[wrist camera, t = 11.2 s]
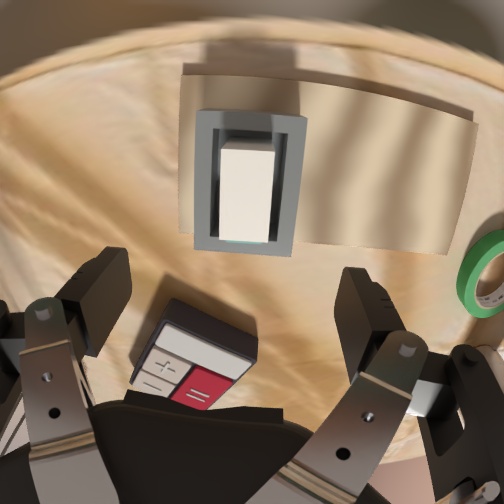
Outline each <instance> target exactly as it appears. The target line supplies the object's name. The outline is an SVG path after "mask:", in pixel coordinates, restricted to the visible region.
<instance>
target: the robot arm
mask: <svg viewBox="0 0 504 504" xmlns="http://www.w3.org/2000/svg"><path fill="white" fill-rule="evenodd" d="M131 293H132V280H131V273H130V265H129V258H128V252H127V250H126V248H120V247H109V246H107V247H106V248H105V249H104V250H103V251H102V252H101V253H100V254H99V255H98V256H97V257H96V258H93V259H91V260H89V261H88V262H86V263H84V264H83V265H82V266H81V267H80V268H79V269H78V270H77V273H75V274H74V275H73V276H72V277H71V279H69V280H68V281H67V283H66V284H65V285H64V286H63V287H62V288H61V289H60V291H59V292H58V293H57V294H56V295H55V296H54V297H45V298H41V299H38V300H36V301H34V302H32V303H31V304H30V305H29V306H28V307H27V308H26V310H25V312H18V313H10V312H9V309H8V307H7V304H6V302H5V301H3V300H0V434H1V432H2V430H3V428H4V426H5V423H6V421H7V419H8V417H9V415H10V413H11V411H12V409H13V407H14V405H15V403H16V401H17V399H18V398H19V396H20V394H21V392H22V395H23V403H24V410H25V417H26V422H27V429H28V434H29V439H30V442H28V443H27V444H25V445H23V446H21V447H19V448H17V449H15V450H14V451H12V452H10V453H8V454H6V455H4V456H2V457H0V504H391V503H390V502H389V501H387V499H385V498H384V497H383V496H382V495H381V494H380V493H379V492H377V491H376V490H375V489H374V488H373V487H372V486H371V485H370V484H369V483H368V480H369V479H370V477H371V476H372V474H373V473H374V471H375V469H376V467H377V466H378V464H379V463H380V461H381V459H382V457H383V456H384V454H385V452H386V450H387V448H388V447H389V445H390V443H391V441H392V439H393V437H394V435H395V433H396V431H397V429H398V427H399V425H400V423H401V421H402V419H403V417H404V415H405V414H409V415H414V416H417V419H418V423H419V427H420V431H421V435H422V439H423V443H424V448H425V452H426V456H427V461H428V465H429V470H430V475H431V480H432V485H433V490H434V496H435V502H436V503H435V504H504V361H503V359H502V358H501V356H500V354H499V353H498V351H493V349H492V348H491V347H490V346H486V345H485V346H479V347H476V348H474V347H472V346H469V345H465V344H461V345H457V346H455V347H454V348H453V349H452V351H451V353H450V355H449V356H448V355H443V354H439V353H434V352H430V351H428V346H427V344H426V343H425V341H424V340H423V339H422V338H421V337H419V336H418V335H416V334H414V333H412V332H409V331H407V330H406V328H405V326H404V324H403V322H402V320H401V318H400V316H399V314H398V312H397V310H396V309H395V306H394V304H393V302H392V301H391V298H390V297H389V295H388V293H387V291H386V290H385V289H384V288H383V287H382V286H381V285H380V284H378V283H377V282H372V281H371V279H370V277H369V275H368V273H367V271H366V269H365V268H355V267H345V268H344V269H343V272H342V276H341V280H340V284H339V288H338V292H337V296H336V300H335V306H334V318H335V322H336V326H337V330H338V334H339V338H340V342H341V346H342V351H343V355H344V359H345V363H346V367H347V372H348V376H349V381H350V385H351V386H350V388H349V389H348V391H347V392H346V393H345V395H344V396H343V397H342V399H341V400H340V401H339V403H338V404H337V405H336V407H335V408H334V409H333V411H332V412H331V413H330V414H329V416H328V417H327V418H326V419H325V421H324V422H323V423H322V424H321V426H320V427H319V428H318V429H317V431H316V432H315V433H313V432H312V431H310V430H309V429H307V428H305V427H303V426H301V425H299V424H296V423H293V422H290V421H287V420H283V408H262V407H248V406H241V407H232V408H223V409H212V410H199V409H196V408H193V407H190V406H187V405H185V404H182V403H179V402H177V401H174V400H172V399H169V398H167V397H164V396H160V395H154V394H148V393H143V392H138V391H133V390H127V392H126V395H125V397H124V400H114V401H108V402H103V403H100V404H97V405H96V402H95V399H94V396H93V393H92V390H91V387H90V384H89V381H88V378H87V375H86V371H85V368H84V365H83V362H82V359H83V357H84V355H87V356H91V357H96V358H97V356H98V354H99V352H100V351H101V349H102V347H103V345H104V343H105V341H106V340H107V338H108V336H109V334H110V332H111V331H112V329H113V327H114V325H115V324H116V322H117V320H118V318H119V317H120V315H121V313H122V312H123V310H124V308H125V306H126V305H127V303H128V301H129V300H130V297H131ZM458 410H459V412H460V415H461V417H462V419H463V422H464V424H465V428H464V430H463V427H462V424H461V421H460V418H459V415H458V412H457V411H458Z"/></svg>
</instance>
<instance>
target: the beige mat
mask: <svg viewBox="0 0 504 504" xmlns="http://www.w3.org/2000/svg"><path fill="white" fill-rule="evenodd" d="M206 108H216V109H240V110H256V111H269V112H280V113H290V114H299V115H302V116H304V117H306V118H308V122H307V132H306V141H305V150H304V159H303V168H302V176H301V185H300V193H299V201H298V209H297V216H296V224H295V231H294V239H293V242H304V243H316V244H328V245H340V246H351V247H363V248H374V249H385V250H396V251H407V252H417V253H428V254H438V255H447V254H448V251H449V248H450V245H451V241H452V238H453V235H454V232H455V228H456V225H457V222H458V218H459V215H460V211H461V207H462V204H463V200H464V196H465V192H466V188H467V183H468V179H469V174H470V170H471V165H472V160H473V155H474V150H475V144H476V138H477V132H478V125H479V124H477V123H475V122H472V121H469V120H466V119H464V118H461V117H458V116H455V115H452V114H449V113H446V112H443V111H439V110H436V109H433V108H429V107H426V106H423V105H419V104H415V103H412V102H408V101H404V100H400V99H396V98H392V97H388V96H384V95H379V94H375V93H370V92H365V91H360V90H355V89H350V88H344V87H338V86H332V85H326V84H319V83H312V82H304V81H296V80H287V79H277V78H265V77H250V76H229V75H181V87H180V111H179V152H178V199H179V233H187V234H194V157H195V124H196V111H197V110H201V109H206Z"/></svg>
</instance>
